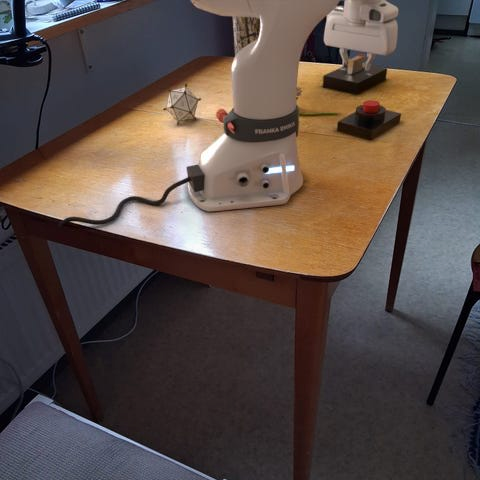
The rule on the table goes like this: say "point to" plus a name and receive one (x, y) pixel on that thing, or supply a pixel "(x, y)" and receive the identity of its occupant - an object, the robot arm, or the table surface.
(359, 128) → the button block
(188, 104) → the game die
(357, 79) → the panel
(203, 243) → the table surface
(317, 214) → the table surface
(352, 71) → the beige rectangular block
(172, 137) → the table surface
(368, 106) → the button
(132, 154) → the table surface
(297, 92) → the decorative flower
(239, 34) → the bark textured post
